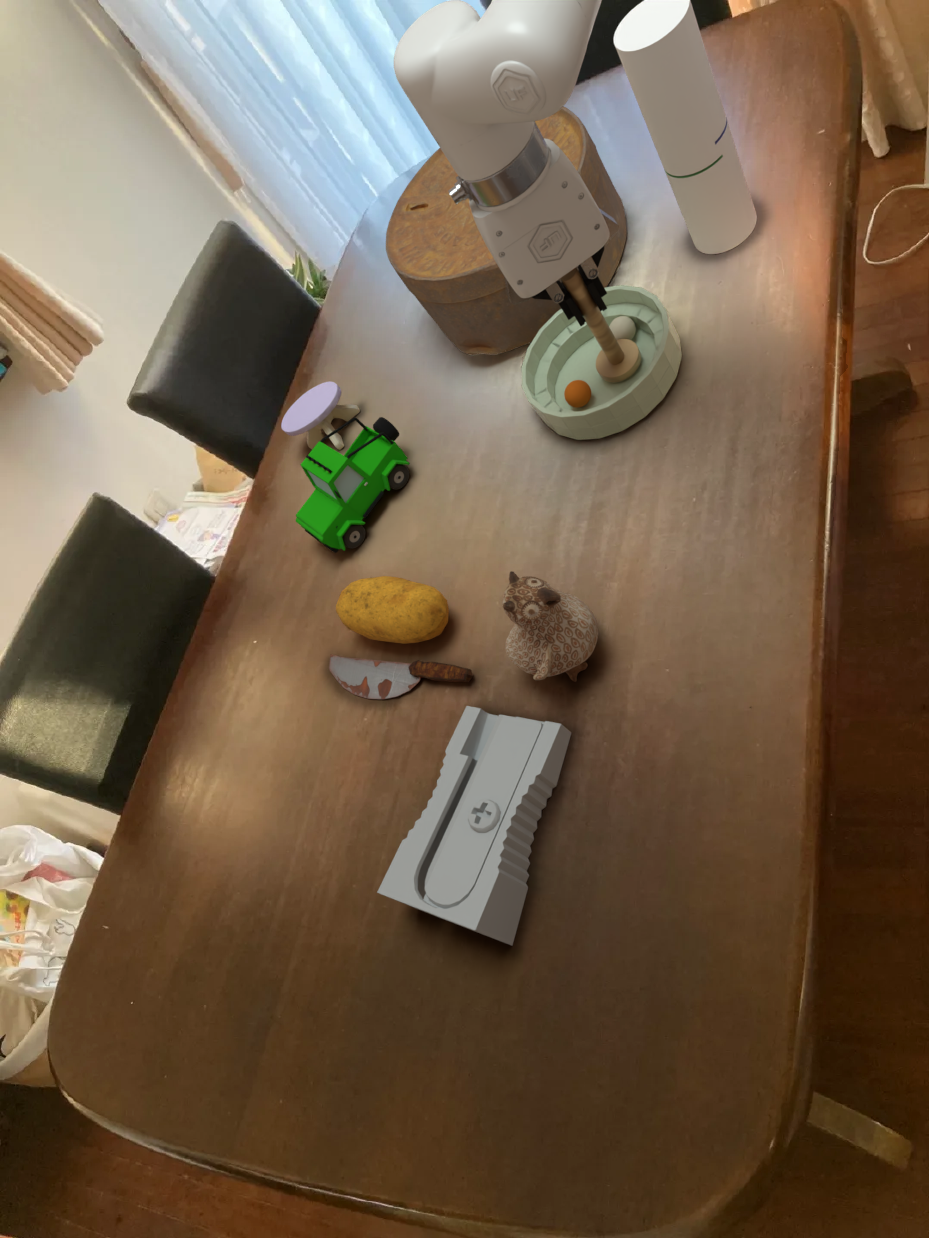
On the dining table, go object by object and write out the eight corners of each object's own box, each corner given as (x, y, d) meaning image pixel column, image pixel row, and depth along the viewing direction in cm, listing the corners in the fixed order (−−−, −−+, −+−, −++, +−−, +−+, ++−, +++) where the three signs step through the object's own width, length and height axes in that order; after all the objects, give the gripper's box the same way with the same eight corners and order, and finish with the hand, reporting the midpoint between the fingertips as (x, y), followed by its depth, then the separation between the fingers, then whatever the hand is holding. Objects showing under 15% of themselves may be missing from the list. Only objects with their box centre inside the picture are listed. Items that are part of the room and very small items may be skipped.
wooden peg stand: (640, 338, 92) (592, 244, 80) (641, 375, 90) (592, 285, 78) (598, 351, 94) (544, 261, 82) (598, 387, 92) (544, 301, 80)
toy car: (315, 538, 109) (263, 500, 102) (393, 435, 110) (346, 389, 102) (349, 564, 104) (296, 526, 96) (430, 455, 104) (384, 408, 96)
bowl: (647, 290, 96) (632, 259, 92) (708, 382, 86) (694, 351, 82) (523, 374, 101) (503, 348, 97) (567, 469, 92) (548, 444, 88)
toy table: (309, 468, 116) (281, 446, 112) (306, 423, 121) (280, 399, 116) (365, 437, 112) (338, 412, 108) (360, 391, 117) (334, 366, 113)
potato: (376, 588, 100) (340, 562, 94) (472, 599, 91) (438, 571, 86) (356, 642, 98) (317, 619, 92) (451, 659, 89) (415, 635, 84)
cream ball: (634, 332, 95) (627, 308, 93) (641, 341, 92) (634, 316, 90) (609, 343, 95) (602, 319, 93) (616, 352, 93) (609, 327, 91)
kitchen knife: (316, 689, 97) (326, 648, 98) (326, 692, 98) (336, 652, 99) (457, 711, 84) (467, 664, 85) (466, 714, 86) (476, 668, 87)
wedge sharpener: (417, 909, 79) (374, 899, 74) (478, 713, 85) (442, 691, 79) (512, 945, 73) (472, 938, 68) (571, 731, 78) (539, 708, 73)
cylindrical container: (769, 206, 92) (705, -14, 72) (734, 258, 91) (660, 50, 72) (715, 201, 96) (641, -8, 77) (681, 250, 96) (599, 52, 77)
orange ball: (589, 390, 94) (585, 370, 92) (596, 407, 93) (592, 388, 90) (564, 399, 95) (559, 379, 92) (570, 416, 93) (565, 397, 91)
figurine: (617, 694, 77) (549, 633, 66) (526, 704, 82) (447, 650, 71) (617, 607, 81) (552, 536, 70) (529, 622, 86) (455, 558, 74)
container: (496, 397, 101) (432, 311, 90) (414, 306, 119) (352, 224, 108) (677, 239, 97) (634, 129, 86) (564, 169, 115) (516, 70, 104)
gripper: (439, 244, 71) (535, 376, 85) (600, 121, 66) (673, 283, 80) (420, 201, 75) (514, 334, 89) (569, 83, 70) (644, 243, 84)
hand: (589, 309), depth 84 cm, fingers closed on wooden peg stand
